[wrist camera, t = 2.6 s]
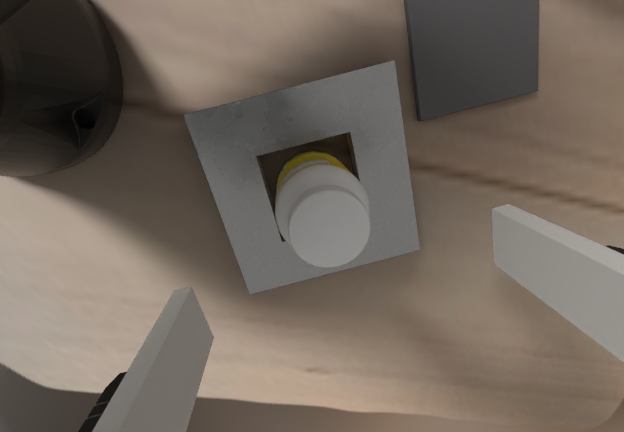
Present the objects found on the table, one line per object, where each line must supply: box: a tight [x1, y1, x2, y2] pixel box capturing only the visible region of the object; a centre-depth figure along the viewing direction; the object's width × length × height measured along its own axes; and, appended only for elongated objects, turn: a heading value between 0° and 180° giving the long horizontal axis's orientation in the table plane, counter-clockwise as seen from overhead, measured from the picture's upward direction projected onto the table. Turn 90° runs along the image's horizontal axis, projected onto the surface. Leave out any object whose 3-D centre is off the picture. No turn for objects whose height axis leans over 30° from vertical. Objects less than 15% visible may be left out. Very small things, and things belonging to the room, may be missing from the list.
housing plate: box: [183, 60, 420, 294], centre depth 27 cm, size 16×16×2 cm
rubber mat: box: [404, 0, 539, 121], centre depth 25 cm, size 10×10×1 cm
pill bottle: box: [275, 150, 371, 268], centre depth 23 cm, size 6×6×11 cm
